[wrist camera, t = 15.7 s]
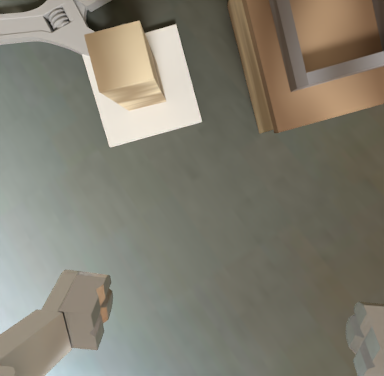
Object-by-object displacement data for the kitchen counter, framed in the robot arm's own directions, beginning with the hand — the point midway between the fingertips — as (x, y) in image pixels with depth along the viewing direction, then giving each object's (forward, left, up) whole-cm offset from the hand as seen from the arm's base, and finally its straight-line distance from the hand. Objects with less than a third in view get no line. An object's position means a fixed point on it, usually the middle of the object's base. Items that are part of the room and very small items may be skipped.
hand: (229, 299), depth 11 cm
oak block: (+3, -12, -21) cm, 25 cm away
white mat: (+3, -12, -22) cm, 25 cm away
